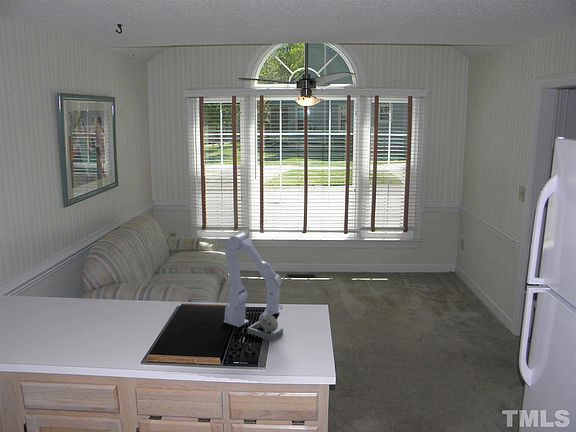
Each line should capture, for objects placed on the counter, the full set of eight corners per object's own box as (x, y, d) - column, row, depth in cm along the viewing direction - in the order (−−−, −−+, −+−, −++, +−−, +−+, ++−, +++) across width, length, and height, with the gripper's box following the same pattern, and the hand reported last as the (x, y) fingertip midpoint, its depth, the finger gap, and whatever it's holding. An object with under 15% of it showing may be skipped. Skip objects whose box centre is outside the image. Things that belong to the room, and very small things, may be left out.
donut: (280, 331, 237) (278, 315, 232) (276, 336, 235) (274, 320, 229) (262, 324, 242) (260, 308, 236) (258, 329, 239) (256, 313, 234)
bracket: (247, 333, 235) (247, 327, 234) (258, 326, 242) (258, 320, 242) (272, 342, 228) (272, 336, 227) (283, 334, 236) (283, 328, 235)
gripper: (271, 307, 228) (270, 335, 231) (288, 297, 240) (287, 324, 243) (258, 303, 231) (257, 331, 235) (275, 294, 244) (274, 320, 247)
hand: (271, 327), depth 239 cm, fingers closed
